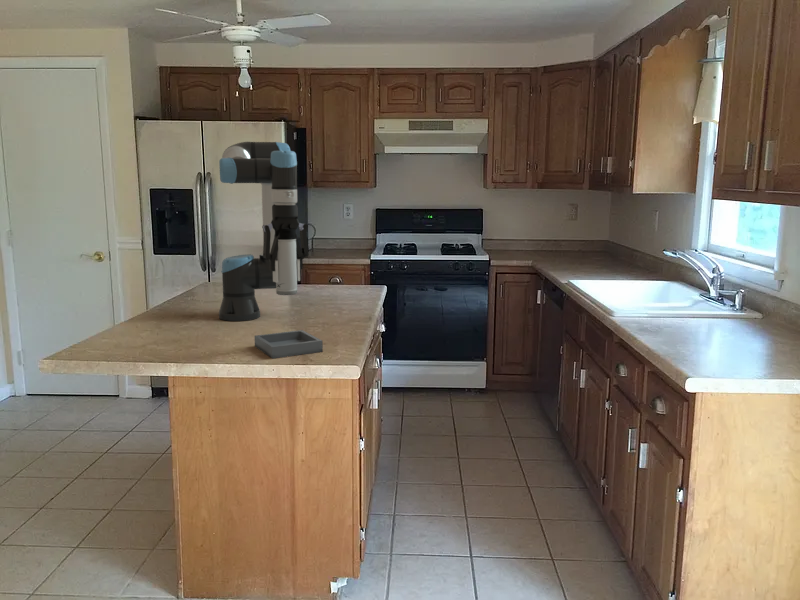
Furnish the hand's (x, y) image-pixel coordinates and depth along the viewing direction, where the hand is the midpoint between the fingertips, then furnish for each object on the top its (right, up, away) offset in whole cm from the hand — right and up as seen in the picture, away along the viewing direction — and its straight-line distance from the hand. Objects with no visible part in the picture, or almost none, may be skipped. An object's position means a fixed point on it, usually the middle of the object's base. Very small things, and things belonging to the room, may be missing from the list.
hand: (286, 280), depth 198 cm
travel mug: (0, -4, +1) cm, 4 cm away
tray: (0, -21, +4) cm, 21 cm away
